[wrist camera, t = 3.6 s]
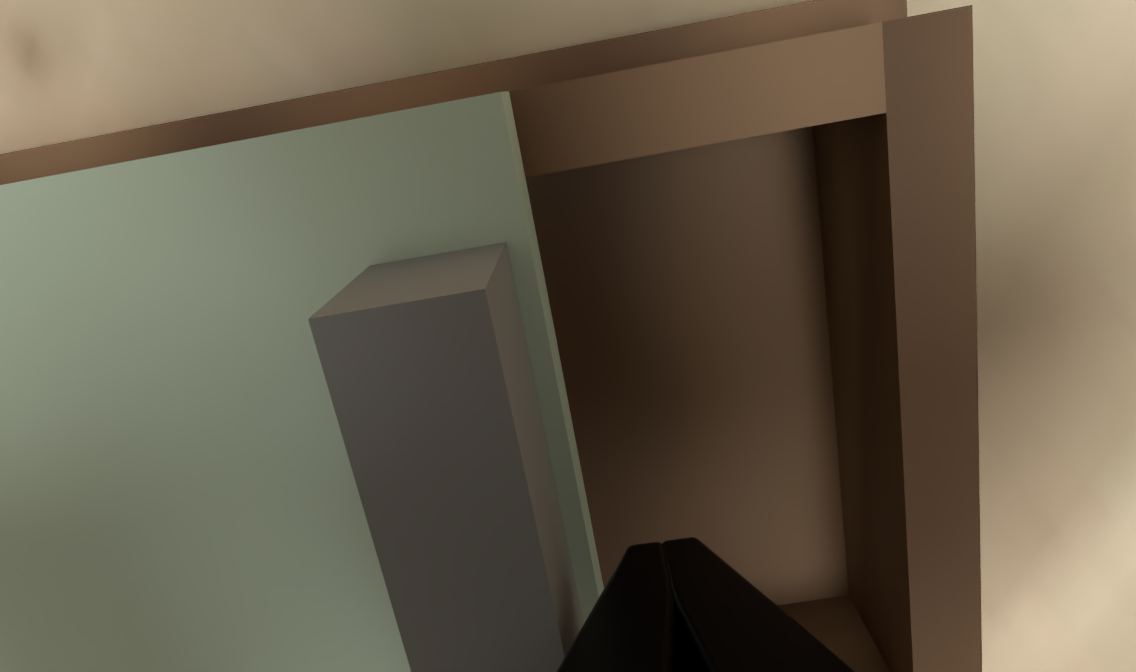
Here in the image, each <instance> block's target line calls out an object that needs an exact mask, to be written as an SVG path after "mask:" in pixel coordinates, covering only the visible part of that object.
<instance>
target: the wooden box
mask: <svg viewBox="0 0 1136 672" xmlns="http://www.w3.org/2000/svg"><path fill="white" fill-rule="evenodd" d="M506 91H509V94H510V100H511V105H512V110H513V115H514V121H515V126H516V131H517V136H518V142H519V147H520V152H521V157H522V162H523V168H524V173H525V178H526V183H527V189H528V194H529V199H530V204H531V210H532V215H533V220H534V225H535V231H536V236H537V241H538V246H539V251H540V257H541V262H542V267H543V272H544V278H545V283H546V288H547V293H548V299H549V304H550V309H551V314H552V319H553V325H554V330H555V335H556V340H557V346H558V351H559V356H560V361H561V367H562V372H563V377H564V382H565V387H566V393H567V398H568V403H569V408H570V414H571V419H572V424H573V429H574V435H575V440H576V445H577V450H578V455H579V461H580V466H581V471H582V476H583V482H584V487H585V492H586V497H587V503H588V508H589V513H590V518H591V524H592V529H593V534H594V539H595V544H596V550H597V555H598V560H599V565H600V571H601V576H602V581H603V586H604V588H605V586H606V584H607V583H608V581H609V579H610V577H611V576H612V574H613V572H614V570H615V569H616V567H617V565H618V563H619V562H620V560H621V558H622V556H623V555H624V553H625V551H626V549H627V548H628V547H629V546H631V545H637V544H644V543H652V542H660V543H663V542H664V541H667V540H674V539H681V538H688V537H695V538H697V539H699V540H700V541H701V542H703V543H704V544H705V545H706V546H707V547H708V548H710V549H711V550H712V551H713V552H714V553H716V554H717V555H718V556H719V557H720V558H722V559H723V560H724V561H725V562H726V563H728V564H729V565H730V566H731V567H732V568H733V569H735V570H736V571H737V572H738V573H739V574H741V575H742V576H743V577H744V578H745V579H747V580H748V581H749V582H750V583H751V584H752V585H754V586H755V587H756V588H757V589H758V590H760V591H761V592H762V593H763V594H764V595H766V596H767V597H768V598H769V599H770V600H772V601H773V602H774V603H775V604H776V605H777V606H779V607H780V608H781V609H782V610H783V611H785V612H786V613H787V614H788V615H789V616H791V617H792V618H793V619H794V620H795V621H796V622H798V623H799V624H800V625H801V626H802V627H804V628H805V629H806V630H807V631H808V632H810V633H811V634H812V635H813V636H814V637H815V638H817V639H818V640H819V641H820V642H821V643H823V644H824V645H825V646H826V647H827V648H829V649H830V650H831V651H832V652H833V653H835V654H836V655H837V656H838V657H839V658H840V659H842V660H843V661H844V662H845V663H846V664H848V665H849V666H850V667H851V668H852V669H854V670H855V671H856V672H982V640H981V572H980V504H979V436H978V369H977V301H976V233H975V165H974V97H973V30H972V5H970V6H965V7H959V8H954V9H949V10H943V11H938V12H933V13H927V14H922V15H917V16H911V17H907V1H906V0H814V1H809V2H804V3H798V4H793V5H788V6H782V7H777V8H772V9H767V10H761V11H756V12H751V13H746V14H740V15H735V16H730V17H724V18H719V19H714V20H709V21H703V22H698V23H693V24H687V25H682V26H677V27H672V28H666V29H661V30H656V31H650V32H645V33H640V34H635V35H629V36H624V37H619V38H613V39H608V40H603V41H598V42H592V43H587V44H582V45H577V46H571V47H566V48H561V49H555V50H550V51H545V52H540V53H534V54H529V55H524V56H518V57H513V58H508V59H503V60H497V61H492V62H487V63H481V64H476V65H471V66H466V67H460V68H455V69H450V70H444V71H439V72H434V73H429V74H423V75H418V76H413V77H408V78H402V79H397V80H392V81H386V82H381V83H376V84H371V85H365V86H360V87H355V88H349V89H344V90H339V91H334V92H328V93H323V94H318V95H312V96H307V97H302V98H297V99H291V100H286V101H281V102H275V103H270V104H265V105H260V106H254V107H249V108H244V109H239V110H233V111H228V112H223V113H217V114H212V115H207V116H202V117H196V118H191V119H186V120H180V121H175V122H170V123H165V124H159V125H154V126H149V127H143V128H138V129H133V130H128V131H122V132H117V133H112V134H106V135H101V136H96V137H91V138H85V139H80V140H75V141H70V142H64V143H59V144H54V145H48V146H43V147H38V148H33V149H27V150H22V151H17V152H11V153H6V154H1V155H0V185H4V184H10V183H15V182H20V181H26V180H31V179H36V178H42V177H47V176H52V175H58V174H63V173H69V172H74V171H79V170H85V169H90V168H95V167H101V166H106V165H111V164H117V163H122V162H127V161H133V160H138V159H143V158H149V157H154V156H160V155H165V154H170V153H176V152H181V151H186V150H192V149H197V148H202V147H208V146H213V145H218V144H224V143H229V142H235V141H240V140H245V139H251V138H256V137H261V136H267V135H272V134H277V133H283V132H288V131H293V130H299V129H304V128H309V127H315V126H320V125H326V124H331V123H336V122H342V121H347V120H352V119H358V118H363V117H368V116H374V115H379V114H384V113H390V112H395V111H401V110H406V109H411V108H417V107H422V106H427V105H433V104H438V103H443V102H449V101H454V100H459V99H465V98H470V97H476V96H481V95H486V94H492V93H497V92H506Z"/></svg>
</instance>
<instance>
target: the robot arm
mask: <svg viewBox="0 0 1136 672" xmlns="http://www.w3.org/2000/svg"><path fill="white" fill-rule="evenodd" d="M557 672H856V671H855V670H854V669H852V668H851V667H850V666H849V665H848V664H846V663H845V662H844V661H843V660H842V659H840V658H839V657H838V656H837V655H836V654H835V653H833V652H832V651H831V650H830V649H829V648H827V647H826V646H825V645H824V644H823V643H821V642H820V641H819V640H818V639H817V638H815V637H814V636H813V635H812V634H811V633H810V632H808V631H807V630H806V629H805V628H804V627H802V626H801V625H800V624H799V623H798V622H796V621H795V620H794V619H793V618H792V617H791V616H789V615H788V614H787V613H786V612H785V611H783V610H782V609H781V608H780V607H779V606H777V605H776V604H775V603H774V602H773V601H772V600H770V599H769V598H768V597H767V596H766V595H764V594H763V593H762V592H761V591H760V590H758V589H757V588H756V587H755V586H754V585H752V584H751V583H750V582H749V581H748V580H747V579H745V578H744V577H743V576H742V575H741V574H739V573H738V572H737V571H736V570H735V569H733V568H732V567H731V566H730V565H729V564H728V563H726V562H725V561H724V560H723V559H722V558H720V557H719V556H718V555H717V554H716V553H714V552H713V551H712V550H711V549H710V548H708V547H707V546H706V545H705V544H704V543H703V542H701V541H700V540H699V539H697V538H695V537H688V538H681V539H674V540H667V541H664V542H663V543H660V542H652V543H644V544H637V545H631V546H629V547H628V548H627V549H626V551H625V553H624V555H623V556H622V558H621V560H620V562H619V563H618V565H617V567H616V569H615V570H614V572H613V574H612V576H611V577H610V579H609V581H608V583H607V584H606V586H605V588H604V590H603V591H602V593H601V595H600V597H599V598H598V600H597V602H596V604H595V605H594V607H593V609H592V611H591V612H590V614H589V616H588V618H587V619H586V621H585V623H584V625H583V626H582V628H581V630H580V631H579V633H578V635H577V637H576V638H575V640H574V642H573V644H572V645H571V647H570V649H569V651H568V652H567V654H566V656H565V658H564V659H563V661H562V663H561V665H560V666H559V668H558V670H557Z"/></svg>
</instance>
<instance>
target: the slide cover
mask: <svg viewBox="0 0 1136 672" xmlns="http://www.w3.org/2000/svg"><path fill="white" fill-rule="evenodd" d="M603 590H604V586H603V581H602V576H601V571H600V565H599V560H598V555H597V550H596V544H595V539H594V534H593V529H592V524H591V518H590V513H589V508H588V503H587V497H586V492H585V487H584V482H583V476H582V471H581V466H580V461H579V455H578V450H577V445H576V440H575V435H574V429H573V424H572V419H571V414H570V408H569V403H568V398H567V393H566V387H565V382H564V377H563V372H562V367H561V361H560V356H559V351H558V346H557V340H556V335H555V330H554V325H553V319H552V314H551V309H550V304H549V299H548V293H547V288H546V283H545V278H544V272H543V267H542V262H541V257H540V251H539V246H538V241H537V236H536V231H535V225H534V220H533V215H532V210H531V204H530V199H529V194H528V189H527V183H526V178H525V173H524V168H523V162H522V157H521V152H520V147H519V142H518V136H517V131H516V126H515V121H514V115H513V110H512V105H511V100H510V94H509V91H506V92H497V93H492V94H486V95H481V96H476V97H470V98H465V99H459V100H454V101H449V102H443V103H438V104H433V105H427V106H422V107H417V108H411V109H406V110H401V111H395V112H390V113H384V114H379V115H374V116H368V117H363V118H358V119H352V120H347V121H342V122H336V123H331V124H326V125H320V126H315V127H309V128H304V129H299V130H293V131H288V132H283V133H277V134H272V135H267V136H261V137H256V138H251V139H245V140H240V141H235V142H229V143H224V144H218V145H213V146H208V147H202V148H197V149H192V150H186V151H181V152H176V153H170V154H165V155H160V156H154V157H149V158H143V159H138V160H133V161H127V162H122V163H117V164H111V165H106V166H101V167H95V168H90V169H85V170H79V171H74V172H69V173H63V174H58V175H52V176H47V177H42V178H36V179H31V180H26V181H20V182H15V183H10V184H4V185H0V672H557V670H558V668H559V666H560V665H561V663H562V661H563V659H564V658H565V656H566V654H567V652H568V651H569V649H570V647H571V645H572V644H573V642H574V640H575V638H576V637H577V635H578V633H579V631H580V630H581V628H582V626H583V625H584V623H585V621H586V619H587V618H588V616H589V614H590V612H591V611H592V609H593V607H594V605H595V604H596V602H597V600H598V598H599V597H600V595H601V593H602V591H603Z"/></svg>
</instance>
